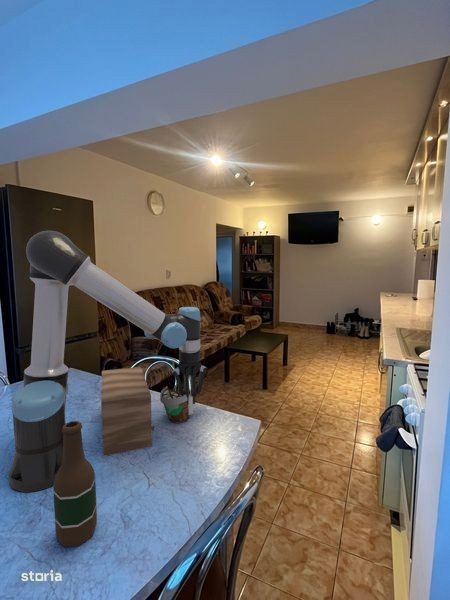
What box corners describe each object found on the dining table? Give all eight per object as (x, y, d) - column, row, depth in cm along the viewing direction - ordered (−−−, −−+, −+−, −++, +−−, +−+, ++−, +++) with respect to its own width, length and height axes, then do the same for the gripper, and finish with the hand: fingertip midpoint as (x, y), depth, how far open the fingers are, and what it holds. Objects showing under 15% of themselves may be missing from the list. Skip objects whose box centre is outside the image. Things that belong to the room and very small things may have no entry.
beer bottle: (99, 538, 64) (95, 428, 61) (56, 556, 60) (49, 438, 57) (94, 512, 70) (90, 411, 68) (55, 526, 67) (49, 420, 64)
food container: (157, 417, 115) (152, 393, 112) (171, 409, 119) (166, 385, 117) (178, 429, 106) (172, 403, 104) (191, 420, 110) (186, 395, 108)
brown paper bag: (151, 446, 96) (150, 395, 94) (103, 456, 91) (101, 402, 89) (141, 407, 122) (140, 366, 120) (103, 413, 117) (101, 370, 115)
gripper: (203, 346, 118) (203, 405, 120) (169, 349, 113) (170, 411, 116) (210, 351, 111) (209, 414, 113) (173, 354, 106) (174, 420, 109)
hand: (189, 412), depth 114 cm, fingers closed
